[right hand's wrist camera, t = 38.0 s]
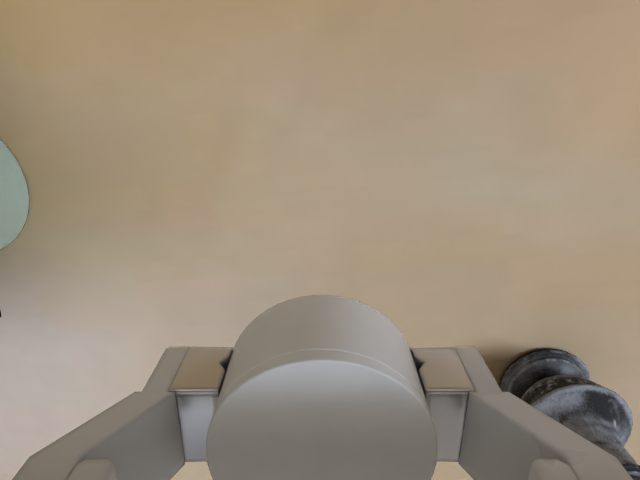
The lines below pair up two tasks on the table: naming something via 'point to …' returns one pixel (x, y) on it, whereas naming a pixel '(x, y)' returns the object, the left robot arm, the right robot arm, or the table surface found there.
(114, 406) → the right robot arm
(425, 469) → the cap
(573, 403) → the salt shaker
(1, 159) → the bottle
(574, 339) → the table surface
